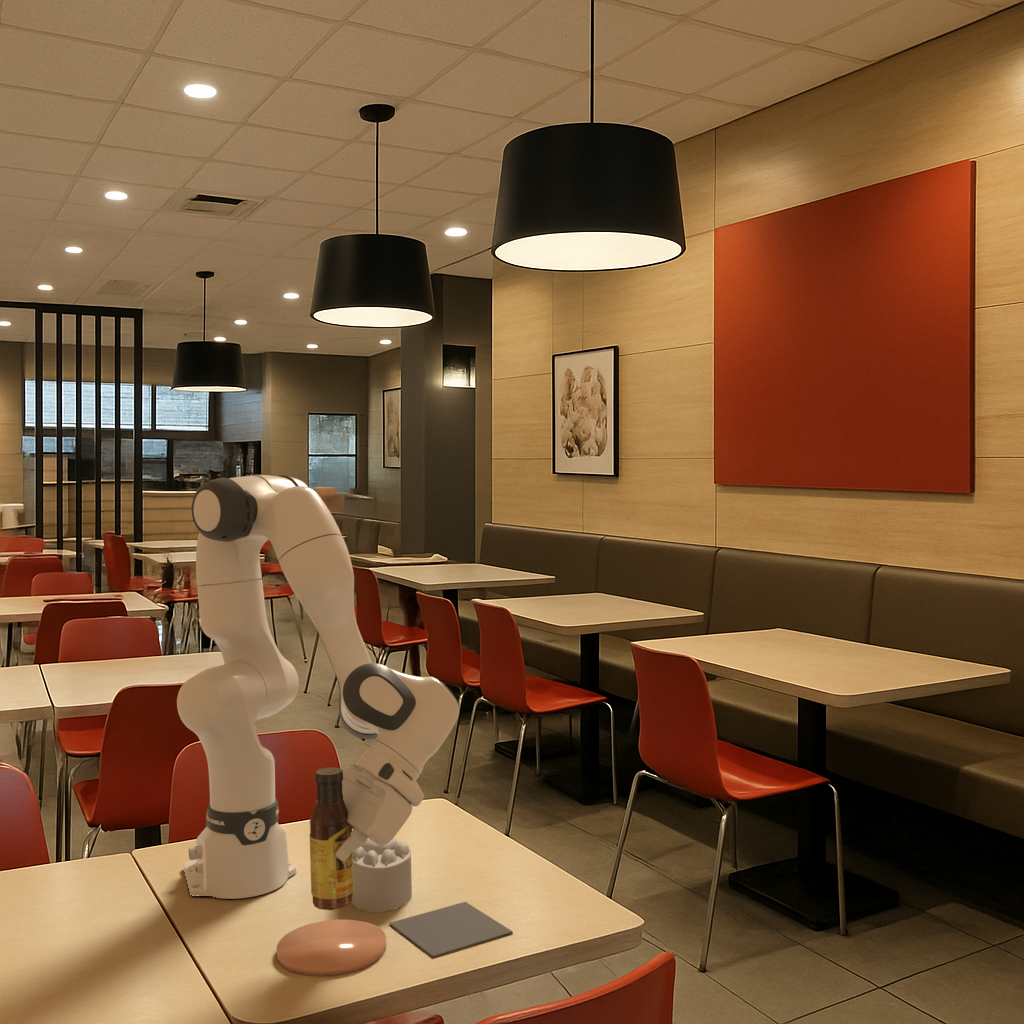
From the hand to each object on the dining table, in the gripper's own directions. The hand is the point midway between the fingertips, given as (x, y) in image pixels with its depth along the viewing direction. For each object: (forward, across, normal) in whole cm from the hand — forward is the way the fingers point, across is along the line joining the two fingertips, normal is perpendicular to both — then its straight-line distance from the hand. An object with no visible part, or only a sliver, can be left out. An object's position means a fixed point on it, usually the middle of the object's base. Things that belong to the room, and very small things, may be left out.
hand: (327, 850), depth 149 cm
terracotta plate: (+10, 0, +11) cm, 15 cm away
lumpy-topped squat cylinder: (0, -14, +22) cm, 26 cm away
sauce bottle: (+5, 0, +6) cm, 8 cm away
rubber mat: (-2, +4, +24) cm, 24 cm away
